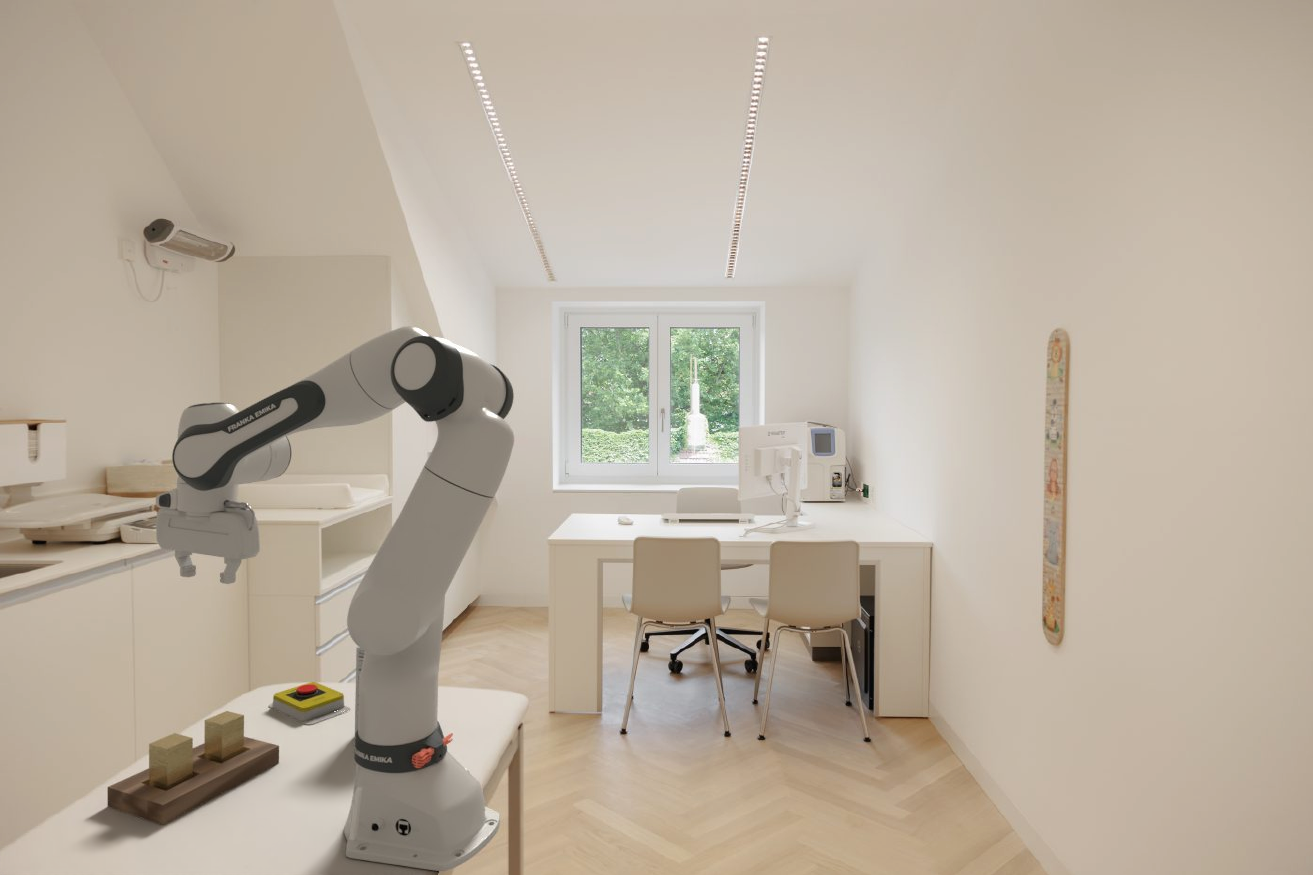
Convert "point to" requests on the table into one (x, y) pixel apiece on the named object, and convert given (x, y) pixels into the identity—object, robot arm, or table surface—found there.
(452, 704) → the table surface
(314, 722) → the emergency button
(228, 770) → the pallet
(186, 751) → the block
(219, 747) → the seated billet
